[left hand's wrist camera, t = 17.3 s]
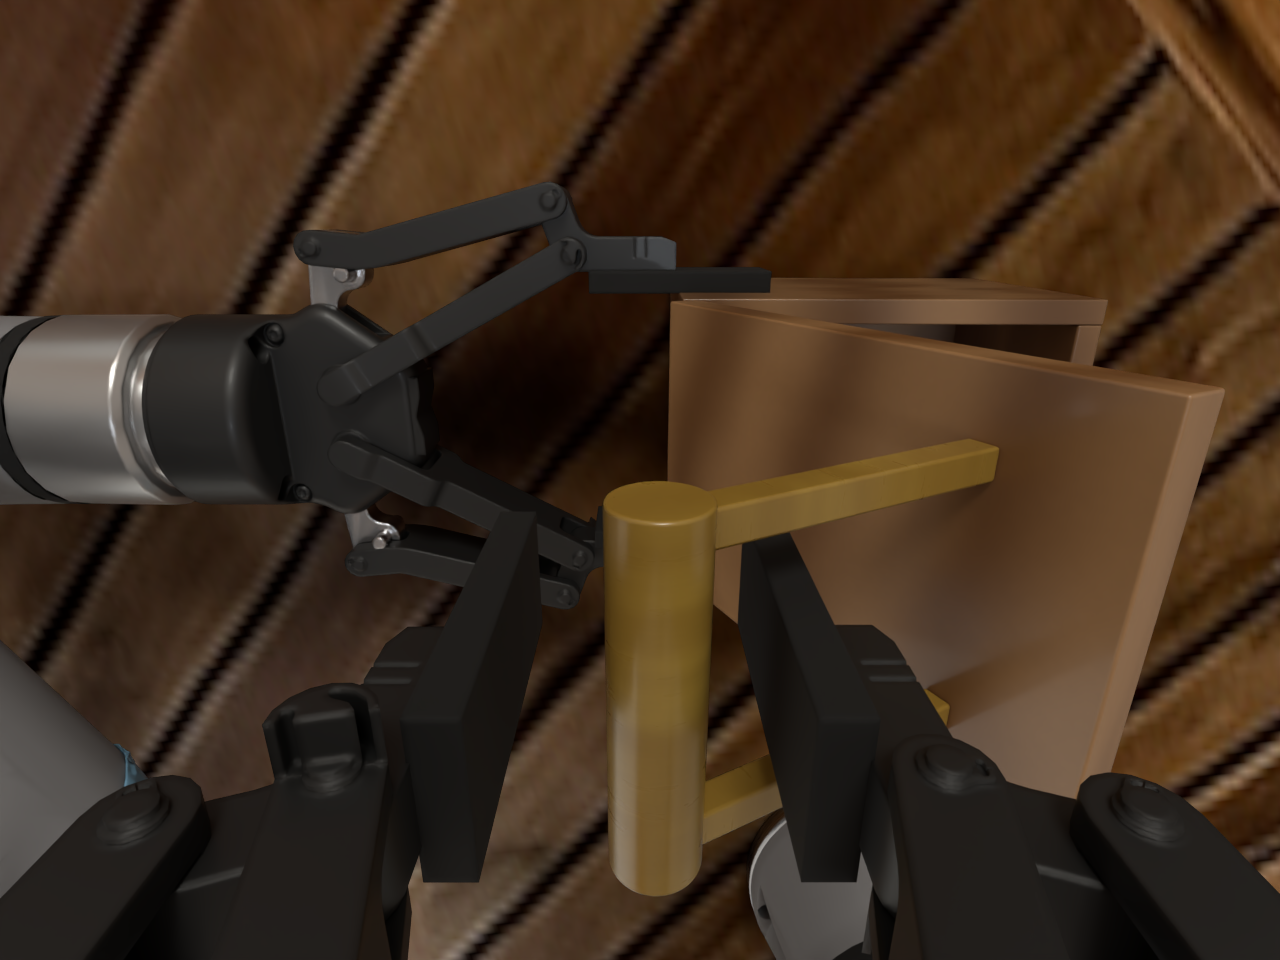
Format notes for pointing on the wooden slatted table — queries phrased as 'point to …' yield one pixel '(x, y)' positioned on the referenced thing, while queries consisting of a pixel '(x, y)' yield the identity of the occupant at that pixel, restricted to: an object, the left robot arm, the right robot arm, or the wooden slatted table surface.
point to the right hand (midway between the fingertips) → (756, 410)
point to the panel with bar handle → (890, 549)
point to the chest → (939, 311)
